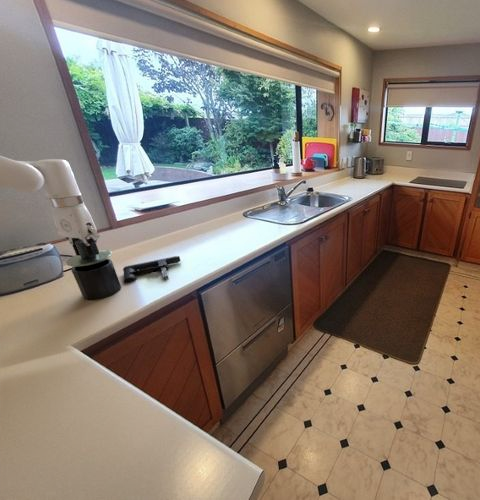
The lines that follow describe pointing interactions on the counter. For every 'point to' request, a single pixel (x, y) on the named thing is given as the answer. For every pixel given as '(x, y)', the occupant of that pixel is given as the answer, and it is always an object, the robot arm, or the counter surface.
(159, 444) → the counter surface
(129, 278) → the door handle
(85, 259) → the lid
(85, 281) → the canister
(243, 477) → the counter surface
